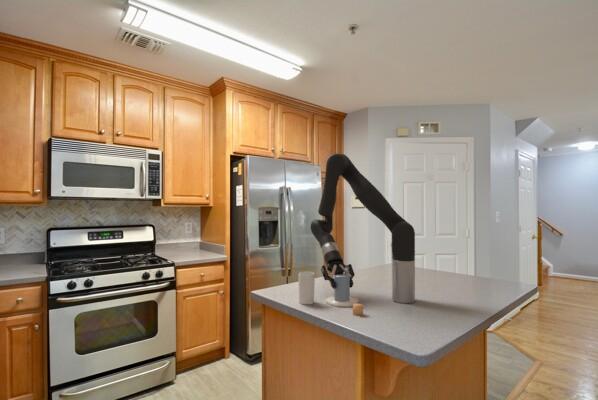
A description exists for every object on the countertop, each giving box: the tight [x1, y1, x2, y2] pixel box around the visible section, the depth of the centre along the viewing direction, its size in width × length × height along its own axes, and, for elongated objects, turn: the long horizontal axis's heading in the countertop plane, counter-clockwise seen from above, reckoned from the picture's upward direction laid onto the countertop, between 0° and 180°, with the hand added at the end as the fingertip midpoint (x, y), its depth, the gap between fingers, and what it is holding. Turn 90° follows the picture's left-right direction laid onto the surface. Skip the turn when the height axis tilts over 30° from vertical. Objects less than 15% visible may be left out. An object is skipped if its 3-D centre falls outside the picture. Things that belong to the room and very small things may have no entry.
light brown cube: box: [352, 303, 364, 317], centre depth 120 cm, size 4×4×4 cm
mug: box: [298, 271, 316, 306], centre depth 136 cm, size 10×7×12 cm, turn 10°
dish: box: [325, 295, 359, 308], centre depth 135 cm, size 13×13×1 cm
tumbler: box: [333, 274, 351, 302], centre depth 135 cm, size 6×6×10 cm
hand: (343, 287), depth 134 cm, fingers open, 7 cm apart
